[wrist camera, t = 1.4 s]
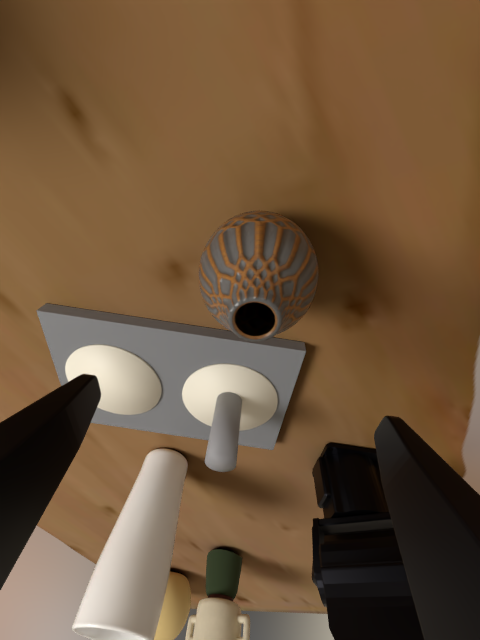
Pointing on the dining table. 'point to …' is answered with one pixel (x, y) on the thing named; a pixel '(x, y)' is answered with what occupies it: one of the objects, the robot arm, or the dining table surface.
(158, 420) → the board
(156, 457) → the white tapered cylinder
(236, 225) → the vase
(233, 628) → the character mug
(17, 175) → the dining table surface
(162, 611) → the sculpture
